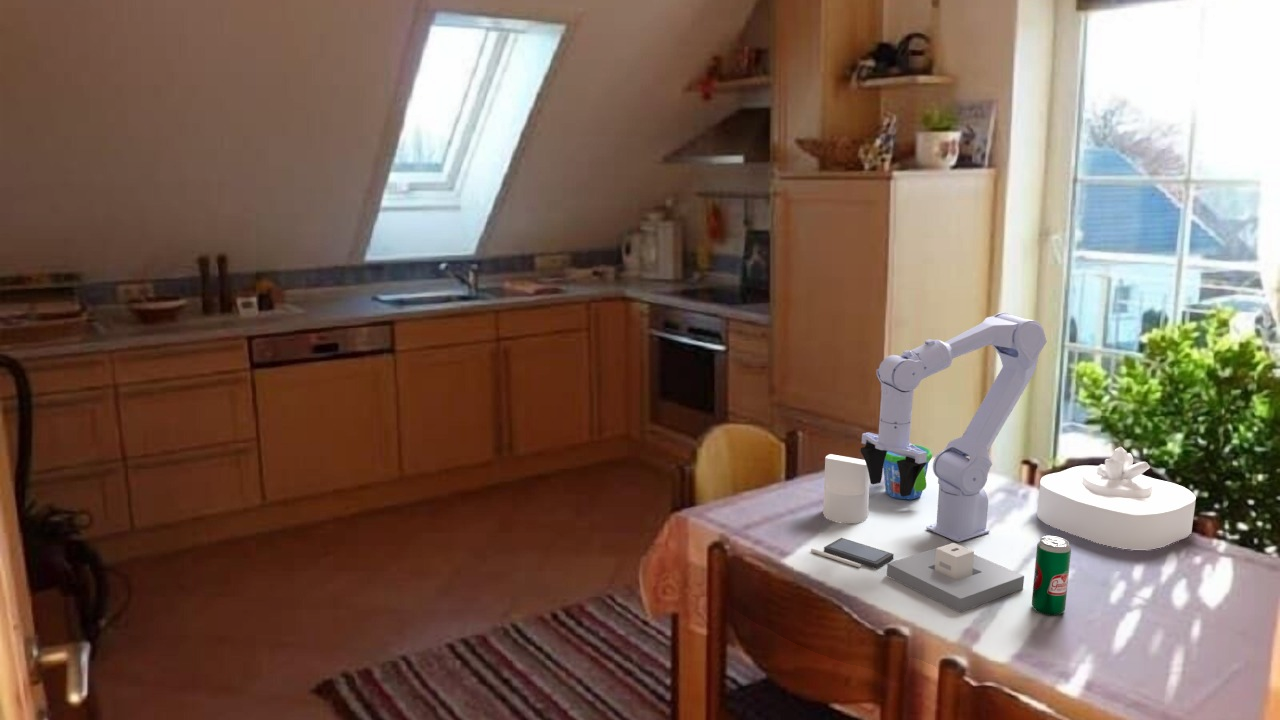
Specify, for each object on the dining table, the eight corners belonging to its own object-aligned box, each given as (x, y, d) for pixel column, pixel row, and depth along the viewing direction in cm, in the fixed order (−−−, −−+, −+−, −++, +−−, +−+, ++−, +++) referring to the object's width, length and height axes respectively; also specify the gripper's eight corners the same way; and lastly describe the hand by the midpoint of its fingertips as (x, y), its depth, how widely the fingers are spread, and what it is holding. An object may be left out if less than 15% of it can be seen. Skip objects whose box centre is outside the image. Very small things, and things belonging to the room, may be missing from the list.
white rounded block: (873, 512, 200) (876, 457, 197) (858, 526, 192) (861, 469, 190) (832, 504, 204) (835, 450, 202) (816, 517, 197) (818, 461, 194)
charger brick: (951, 572, 171) (953, 542, 169) (971, 581, 167) (974, 550, 166) (933, 578, 168) (935, 547, 167) (954, 587, 165) (956, 556, 163)
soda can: (1050, 619, 155) (1056, 549, 152) (1024, 606, 159) (1030, 538, 156) (1071, 612, 157) (1078, 543, 154) (1045, 599, 161) (1052, 532, 159)
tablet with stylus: (832, 539, 186) (833, 534, 186) (893, 558, 177) (893, 553, 177) (810, 552, 180) (810, 546, 180) (871, 572, 172) (871, 566, 171)
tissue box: (1208, 530, 191) (1219, 452, 187) (1136, 559, 178) (1146, 475, 174) (1092, 492, 211) (1099, 422, 208) (1019, 516, 198) (1026, 441, 195)
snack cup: (868, 482, 217) (871, 439, 215) (914, 481, 218) (917, 438, 215) (890, 508, 202) (893, 462, 200) (940, 507, 202) (943, 461, 200)
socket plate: (948, 555, 179) (949, 543, 178) (1023, 588, 165) (1024, 575, 165) (886, 576, 170) (887, 563, 170) (959, 612, 157) (960, 598, 157)
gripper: (851, 413, 184) (847, 481, 187) (909, 432, 172) (904, 504, 175) (878, 408, 188) (873, 475, 191) (937, 427, 176) (931, 498, 179)
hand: (890, 489), depth 183 cm, fingers open, 7 cm apart
